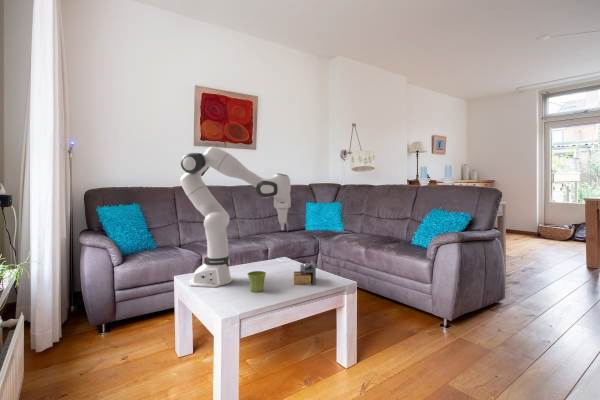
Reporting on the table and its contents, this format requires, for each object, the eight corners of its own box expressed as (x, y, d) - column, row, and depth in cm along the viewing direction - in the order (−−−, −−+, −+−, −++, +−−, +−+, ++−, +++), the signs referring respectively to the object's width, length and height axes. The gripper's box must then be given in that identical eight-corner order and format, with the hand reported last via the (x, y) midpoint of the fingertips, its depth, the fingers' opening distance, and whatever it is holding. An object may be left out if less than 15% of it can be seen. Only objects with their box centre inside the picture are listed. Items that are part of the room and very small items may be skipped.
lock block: (294, 285, 172) (294, 275, 171) (293, 280, 180) (293, 270, 179) (311, 284, 172) (311, 274, 172) (310, 280, 180) (310, 270, 180)
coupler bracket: (301, 285, 170) (301, 267, 169) (300, 278, 182) (300, 261, 182) (315, 285, 171) (315, 266, 170) (313, 278, 183) (313, 260, 182)
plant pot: (248, 287, 167) (248, 271, 167) (266, 286, 168) (266, 270, 168) (247, 293, 158) (246, 276, 157) (266, 293, 159) (266, 275, 158)
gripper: (276, 202, 182) (276, 226, 183) (276, 205, 162) (276, 232, 163) (287, 202, 182) (287, 226, 183) (288, 205, 162) (288, 232, 163)
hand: (282, 229), depth 173 cm, fingers closed
